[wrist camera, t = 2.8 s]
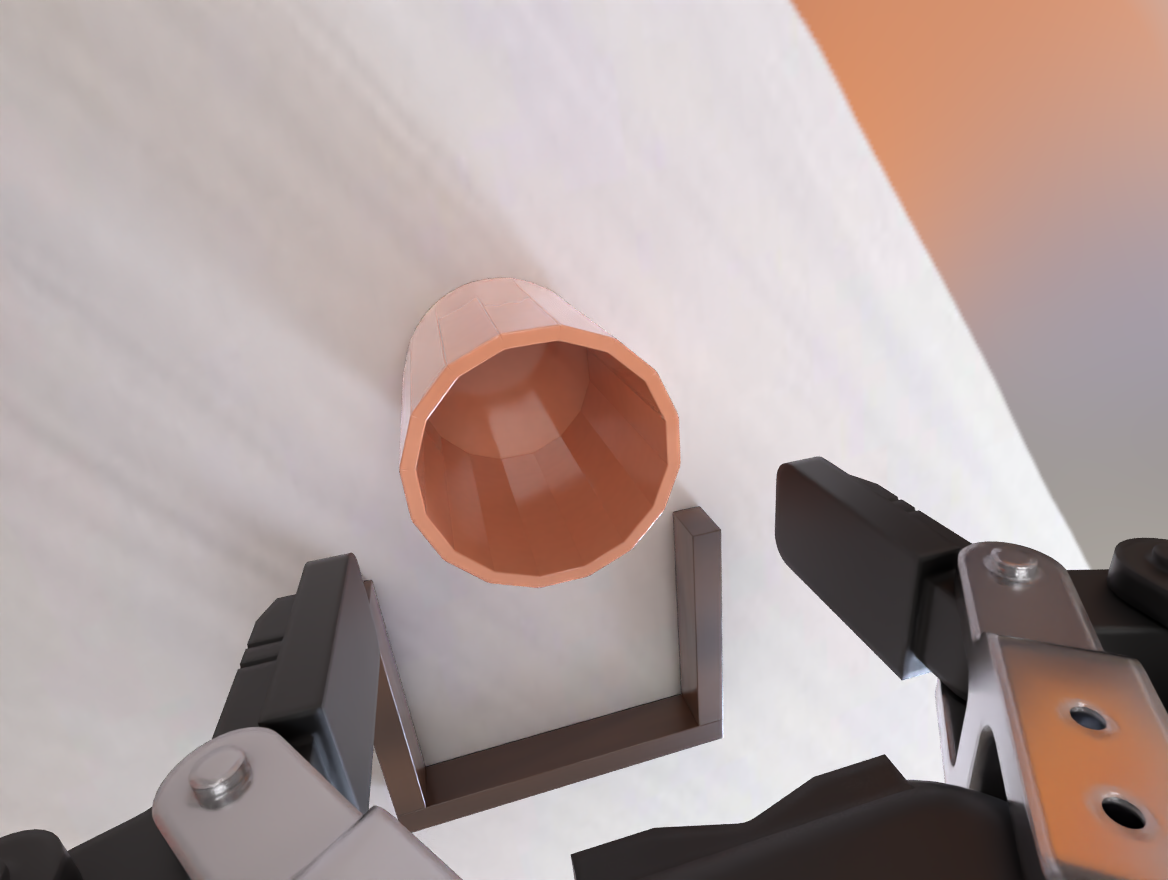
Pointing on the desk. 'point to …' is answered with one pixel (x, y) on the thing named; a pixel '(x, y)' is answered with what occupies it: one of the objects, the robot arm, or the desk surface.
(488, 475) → the tumbler
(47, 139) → the desk surface
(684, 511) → the frame
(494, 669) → the desk surface
